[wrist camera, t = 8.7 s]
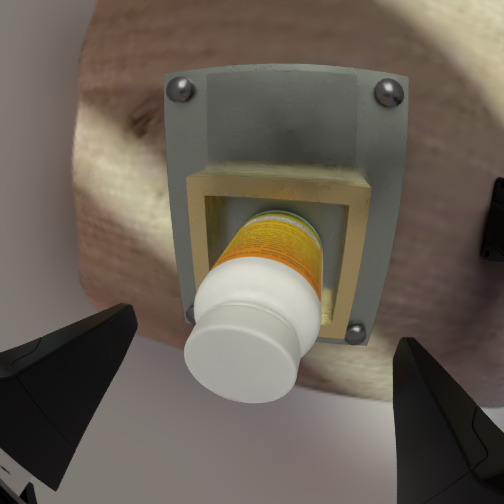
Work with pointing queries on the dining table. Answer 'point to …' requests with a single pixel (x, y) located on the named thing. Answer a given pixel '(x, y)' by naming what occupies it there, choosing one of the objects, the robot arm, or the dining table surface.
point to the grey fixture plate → (290, 172)
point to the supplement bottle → (258, 310)
